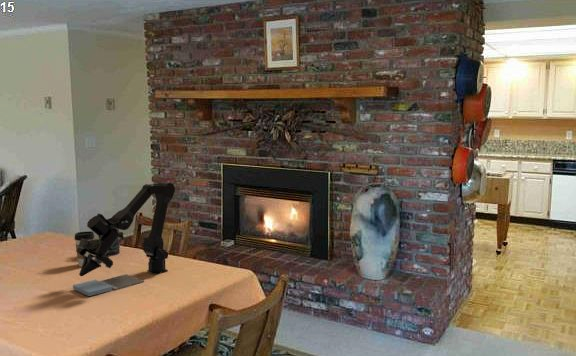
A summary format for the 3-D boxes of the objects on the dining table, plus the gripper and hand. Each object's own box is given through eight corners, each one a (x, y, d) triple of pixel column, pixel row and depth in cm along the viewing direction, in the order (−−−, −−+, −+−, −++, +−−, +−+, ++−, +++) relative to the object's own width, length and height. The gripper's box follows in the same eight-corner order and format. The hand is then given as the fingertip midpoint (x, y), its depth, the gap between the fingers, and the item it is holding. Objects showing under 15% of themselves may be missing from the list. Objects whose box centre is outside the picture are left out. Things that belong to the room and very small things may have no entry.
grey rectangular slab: (95, 279, 205) (72, 285, 198) (111, 286, 197) (88, 292, 190) (95, 284, 205) (73, 289, 198) (111, 291, 197) (88, 297, 190)
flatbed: (126, 275, 216) (126, 273, 216) (143, 282, 208) (143, 280, 208) (97, 282, 206) (97, 281, 206) (115, 290, 198) (115, 288, 198)
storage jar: (104, 250, 254) (103, 220, 252) (123, 251, 253) (122, 221, 251) (94, 255, 244) (93, 225, 242) (113, 256, 243) (112, 226, 241)
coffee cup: (88, 268, 225) (87, 235, 223) (71, 266, 227) (70, 234, 225) (99, 262, 233) (98, 230, 231) (82, 261, 235) (81, 229, 233)
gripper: (79, 226, 201) (53, 259, 194) (104, 234, 189) (77, 269, 182) (98, 242, 208) (74, 274, 201) (124, 250, 196) (98, 285, 189)
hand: (80, 275), depth 193 cm, fingers closed
